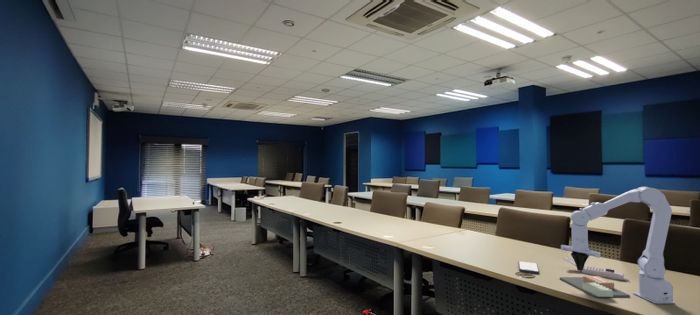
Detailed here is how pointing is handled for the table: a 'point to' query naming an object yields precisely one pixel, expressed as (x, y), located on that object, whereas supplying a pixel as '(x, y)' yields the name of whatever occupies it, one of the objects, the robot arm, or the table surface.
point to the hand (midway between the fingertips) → (580, 270)
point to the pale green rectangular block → (597, 289)
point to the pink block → (598, 281)
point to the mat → (578, 284)
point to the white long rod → (600, 271)
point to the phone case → (528, 267)
